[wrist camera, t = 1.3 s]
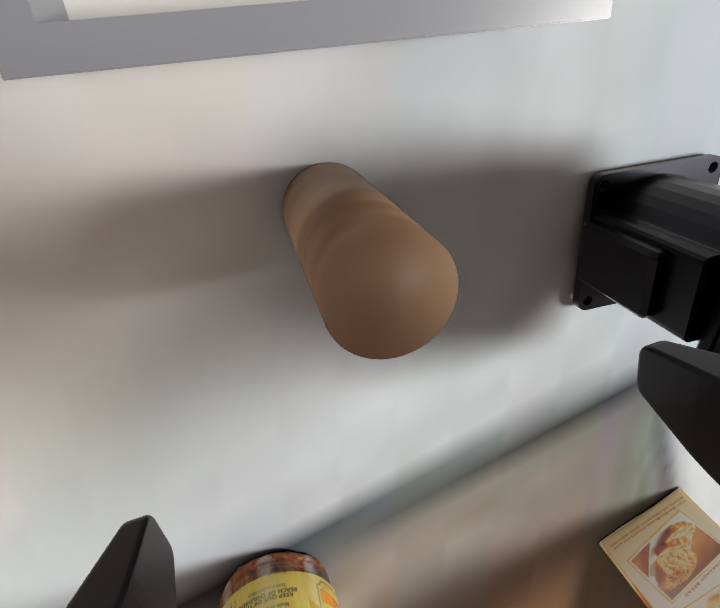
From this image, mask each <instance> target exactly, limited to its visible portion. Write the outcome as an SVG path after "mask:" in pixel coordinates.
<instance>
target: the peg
mask: <svg viewBox="0 0 720 608" xmlns="http://www.w3.org/2000/svg"><path fill="white" fill-rule="evenodd" d="M282 211H283V218H284V222H285V225H286V228H287V230H288V233H289V235H290V238H291V240H292V243H293V245H294V248H295V250H296V253H297V255H298V258H299V260H300V263H301V265H302V268H303V270H304V273H305V275H306V278H307V280H308V283H309V285H310V288H311V290H312V293H313V295H314V298H315V300H316V303H317V305H318V308H319V310H320V313H321V315H322V318H323V320H324V323H325V325H326V328H327V330H328V331H329V333H330V335H331V336H332V337H333V339H334V340H335V341H336V342H337V343H338V344H339V345H340V346H341V347H343V348H344V349H346V350H347V351H349V352H351V353H353V354H355V355H358V356H361V357H365V358H370V359H389V358H395V357H399V356H403V355H406V354H408V353H411V352H413V351H415V350H417V349H419V348H420V347H422V346H423V345H425V344H426V343H428V342H429V341H430V340H431V339H433V338H434V337H435V336H436V335H437V334H438V333H439V332H440V331H441V329H442V328H443V327H444V325H445V324H446V323H447V321H448V319H449V318H450V316H451V314H452V312H453V310H454V307H455V304H456V301H457V296H458V288H459V280H458V273H457V268H456V265H455V263H454V260H453V258H452V257H451V255H450V253H449V252H448V251H447V249H446V248H445V247H444V246H443V245H442V244H441V243H440V242H439V241H438V240H436V239H435V238H434V237H433V236H432V235H431V234H429V233H428V232H427V231H426V230H425V229H423V228H422V227H421V226H420V225H419V224H417V223H416V222H415V221H414V220H413V219H412V218H410V217H409V216H408V215H407V214H406V213H404V212H403V211H402V210H401V209H400V208H399V207H397V206H396V205H395V204H394V203H393V202H391V201H390V200H389V199H388V198H387V197H386V196H384V195H383V194H382V193H381V192H380V191H378V190H377V189H376V188H375V187H374V186H372V185H371V184H370V183H369V182H368V181H367V180H365V179H364V178H363V177H362V176H361V175H359V174H358V173H357V172H356V171H354V170H353V169H351V168H350V167H348V166H345V165H342V164H339V163H331V162H327V163H320V164H316V165H313V166H310V167H308V168H306V169H305V170H303V171H302V172H300V173H299V174H298V175H297V176H296V177H295V178H294V179H293V180H292V182H291V183H290V185H289V186H288V188H287V190H286V193H285V196H284V199H283V209H282Z"/></svg>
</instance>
